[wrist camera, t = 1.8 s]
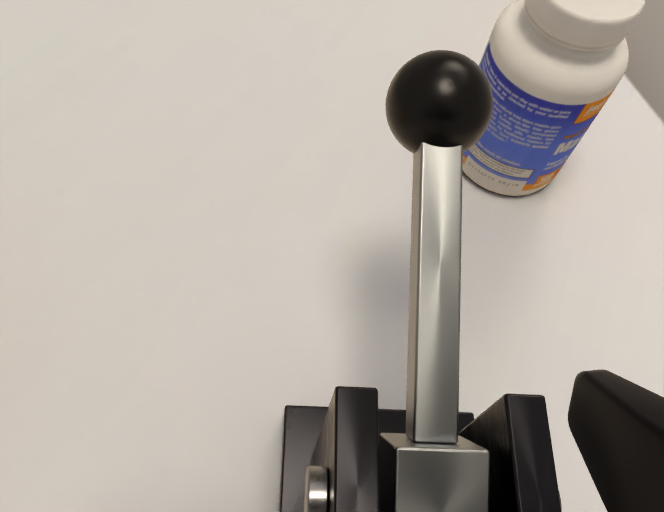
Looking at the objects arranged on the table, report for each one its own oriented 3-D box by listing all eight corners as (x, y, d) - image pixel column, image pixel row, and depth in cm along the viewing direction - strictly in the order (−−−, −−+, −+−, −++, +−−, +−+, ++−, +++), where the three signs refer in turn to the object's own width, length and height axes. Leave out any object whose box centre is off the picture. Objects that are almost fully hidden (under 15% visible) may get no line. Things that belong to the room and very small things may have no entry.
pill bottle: (545, 215, 29) (660, 59, 21) (435, 175, 30) (503, 7, 21) (566, 131, 32) (676, -38, 23) (464, 95, 32) (536, -83, 24)
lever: (379, 73, 18) (397, 25, 15) (474, 81, 18) (509, 34, 16) (362, 542, 16) (379, 581, 14) (468, 544, 17) (506, 584, 14)
